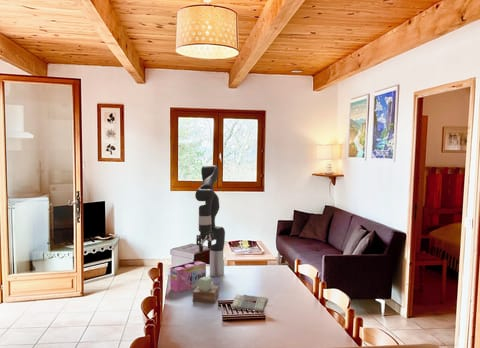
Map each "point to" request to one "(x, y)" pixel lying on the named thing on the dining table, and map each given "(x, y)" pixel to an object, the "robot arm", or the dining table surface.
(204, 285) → the sage block
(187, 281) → the gum box
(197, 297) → the walnut base
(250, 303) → the dish towel
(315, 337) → the dining table surface
